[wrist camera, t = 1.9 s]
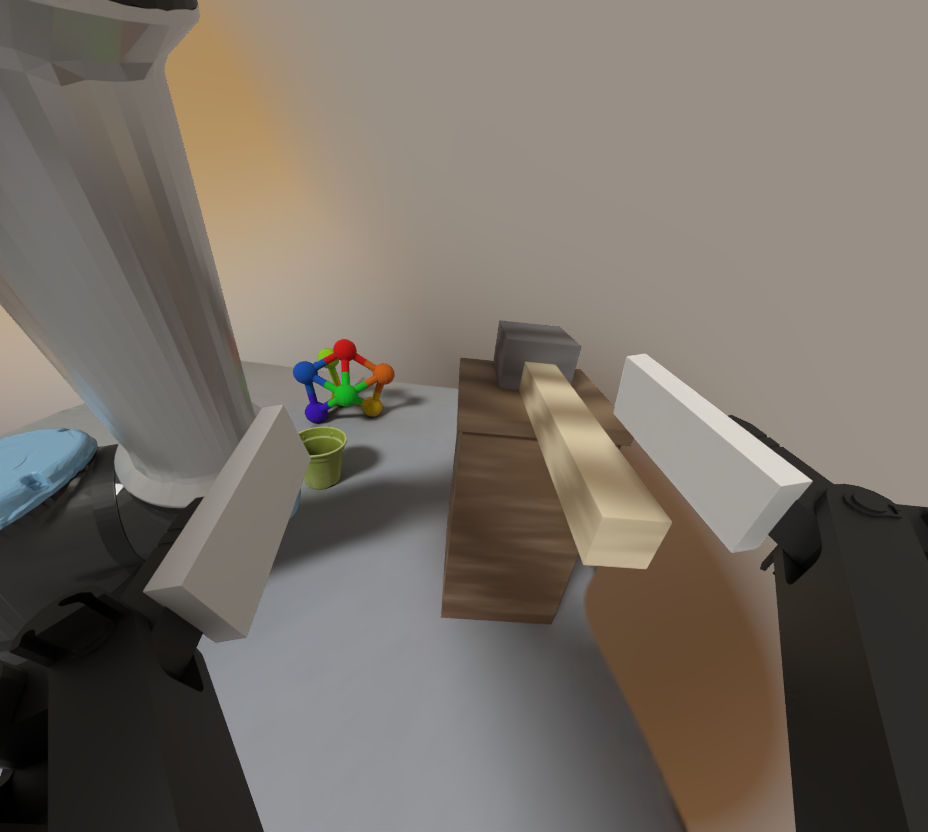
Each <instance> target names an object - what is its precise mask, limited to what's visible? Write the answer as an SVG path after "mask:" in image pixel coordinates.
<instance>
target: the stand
mask: <svg viewBox="0 0 928 832" xmlns="http://www.w3.org/2000/svg"><path fill="white" fill-rule="evenodd" d="M571 386H572V388H573V389H574V390H575V392H576V393H577V394H578V396H579V397H580V398H581V400H582V401H583V402H584V404H585V405H586V406H587V408H588V409H589V410H590V412H591V413H592V415H593V416H594V417H595V419H596V420H597V421H598V423H599V424H600V425H601V427H602V428H603V429H604V431H605V432H606V433H607V435H608V436H609V438H610V439H611V440H612V442H613V443H614V444H615V446H616V447H617V448H618V450H620V447H621V445H624V446H631V443H632V441H633V439H634V437H633V436H632V435H631V434H630V432H629V431H628V430H627V429H626V428H625V427H624V425H623V424H622V423H621V422H620V421H619V419H618V418H617V417H616V416H615V415H614V414H613V412H614V408H615V407H614V406H613V405H612V404H611V403H610V402H609V400H608V399H607V398H606V397H605V396H604V395H603V394H602V393H601V392H600V390H599V389H598V388H597V387H596V386H595V385H594V384H593V383H592V382H591V381H590V379H589V378H588V377H587V376H586V375H585V374H584V373H583V372H582V371H581V370H580V369H575V372H574V375H573V379H572V382H571ZM578 555H579V552H578V549H577V546H576V544H575V541H574V538H573V535H572V533H571V530H570V527H569V525H568V522H567V519H566V516H565V514H564V511H563V508H562V505H561V503H560V500H559V497H558V495H557V492H556V489H555V486H554V484H553V481H552V478H551V475H550V473H549V470H548V467H547V465H546V462H545V459H544V456H543V454H542V451H541V448H540V446H539V443H538V440H537V437H536V435H535V432H534V429H533V426H532V424H531V421H530V418H529V416H528V413H527V410H526V407H525V405H524V402H523V399H522V396H521V394H520V391H519V390H512V389H501V388H499V384H498V380H497V376H496V372H495V367H494V363H493V361H489V360H478V359H468V358H461V359H460V369H459V392H458V415H457V437H456V446H455V456H454V465H453V475H452V484H451V494H450V503H449V513H448V522H447V533H446V549H445V565H444V581H443V596H442V612H441V617H442V618H458V619H474V620H491V621H507V622H523V623H540V624H551V623H552V621H553V618H554V616H555V613H556V611H557V608H558V606H559V603H560V601H561V598H562V595H563V593H564V590H565V588H566V585H567V583H568V580H569V578H570V575H571V572H572V570H573V567H574V565H575V562H576V560H577V557H578Z"/></svg>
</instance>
